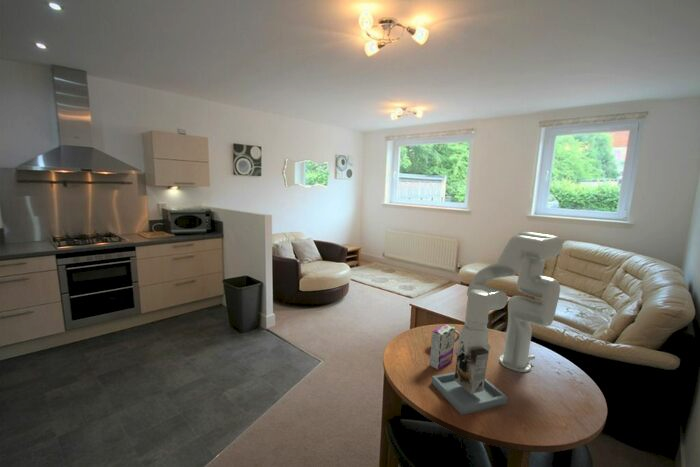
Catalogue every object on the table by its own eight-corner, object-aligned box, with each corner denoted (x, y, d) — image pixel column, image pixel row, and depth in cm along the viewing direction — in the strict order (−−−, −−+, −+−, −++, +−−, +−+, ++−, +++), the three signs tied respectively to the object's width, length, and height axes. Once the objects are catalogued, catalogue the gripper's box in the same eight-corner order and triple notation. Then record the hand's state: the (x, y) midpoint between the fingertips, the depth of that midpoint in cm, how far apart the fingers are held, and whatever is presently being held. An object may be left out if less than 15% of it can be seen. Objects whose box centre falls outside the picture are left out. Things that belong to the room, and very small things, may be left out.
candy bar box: (442, 357, 143) (446, 323, 141) (452, 362, 140) (456, 327, 137) (428, 365, 136) (431, 330, 133) (438, 370, 132) (442, 334, 130)
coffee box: (453, 380, 121) (457, 341, 118) (466, 377, 123) (470, 338, 121) (470, 395, 112) (476, 353, 110) (484, 391, 115) (489, 350, 113)
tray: (472, 375, 130) (473, 368, 130) (506, 404, 113) (507, 396, 113) (431, 383, 124) (432, 376, 123) (461, 415, 107) (462, 407, 106)
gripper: (487, 317, 121) (481, 359, 123) (449, 321, 115) (444, 366, 118) (502, 325, 114) (496, 370, 116) (463, 330, 108) (457, 377, 111)
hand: (470, 367), depth 117 cm, fingers closed on coffee box, 6 cm apart
